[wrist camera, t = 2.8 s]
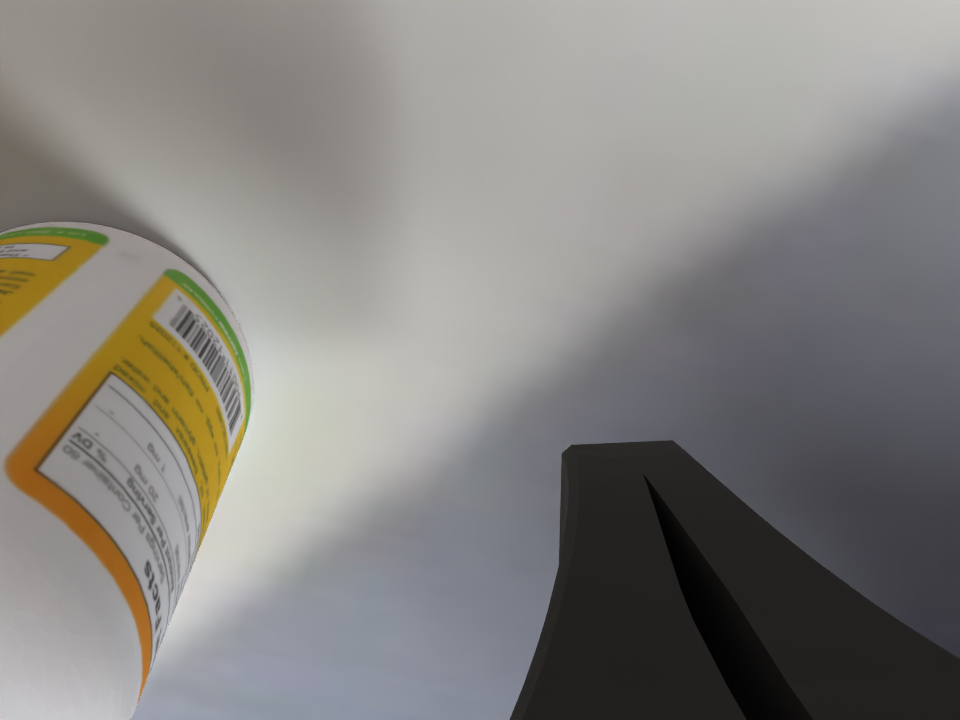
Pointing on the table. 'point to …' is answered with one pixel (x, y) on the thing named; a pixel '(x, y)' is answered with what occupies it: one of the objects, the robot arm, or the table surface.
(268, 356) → the table surface
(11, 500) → the supplement bottle
